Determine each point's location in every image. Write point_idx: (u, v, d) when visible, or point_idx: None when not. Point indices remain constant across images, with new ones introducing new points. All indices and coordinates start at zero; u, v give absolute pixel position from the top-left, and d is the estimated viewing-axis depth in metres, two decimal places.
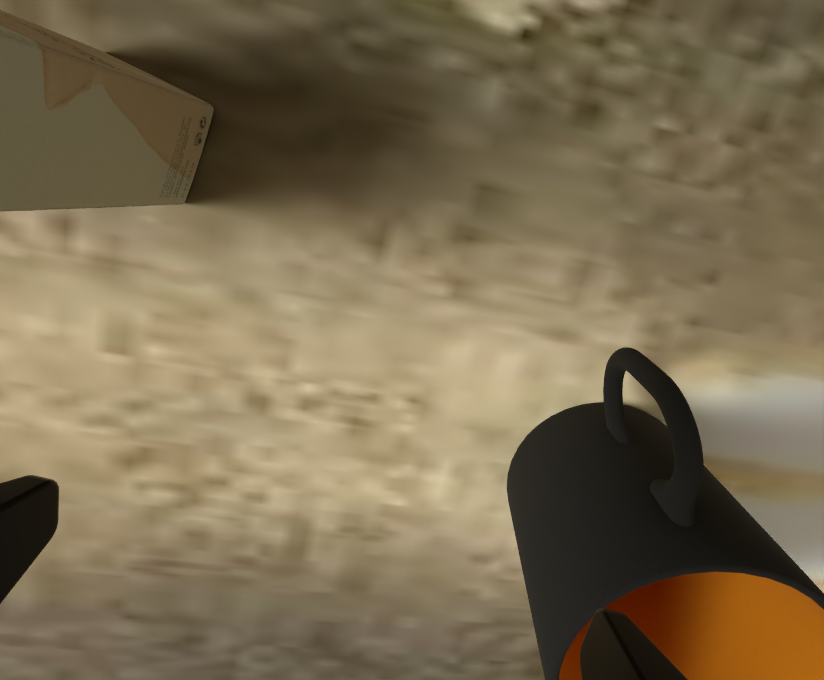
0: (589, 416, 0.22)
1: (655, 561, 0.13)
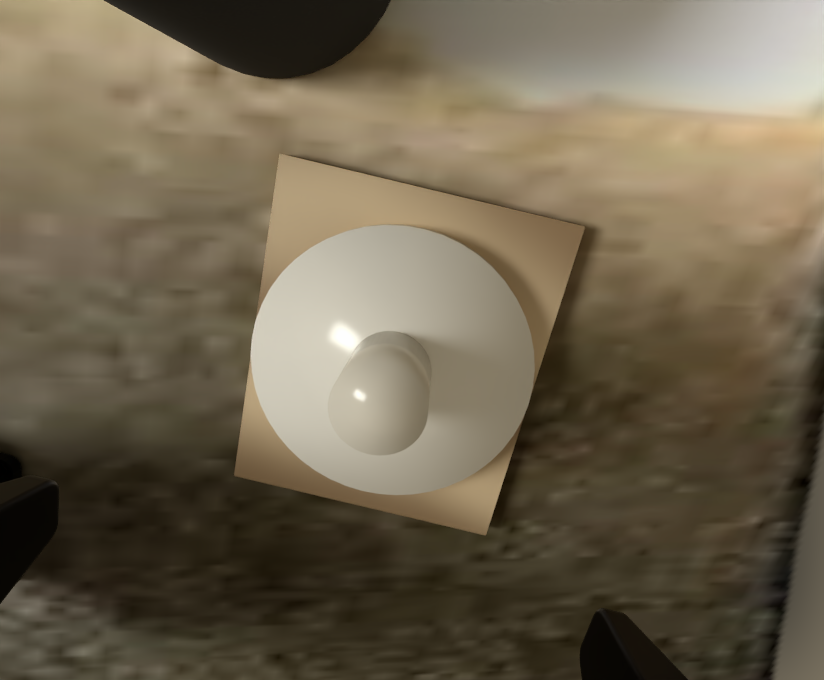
0: None
1: None
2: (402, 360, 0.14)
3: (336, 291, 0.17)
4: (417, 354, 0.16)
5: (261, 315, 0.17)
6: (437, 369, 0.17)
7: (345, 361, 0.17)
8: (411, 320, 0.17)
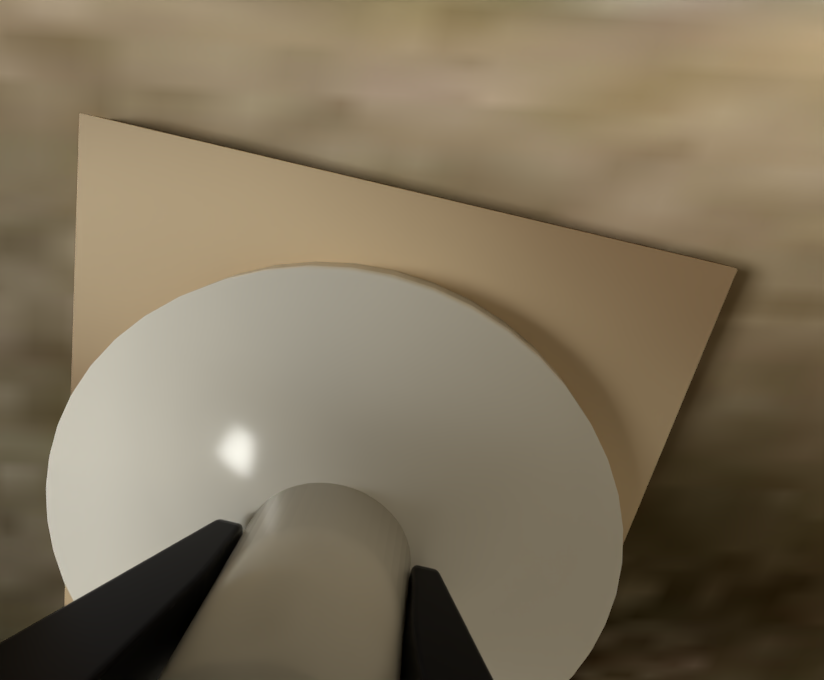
0: None
1: None
2: (329, 621, 0.06)
3: (208, 403, 0.08)
4: (376, 557, 0.07)
5: (60, 449, 0.08)
6: (422, 556, 0.08)
7: None
8: (367, 464, 0.08)
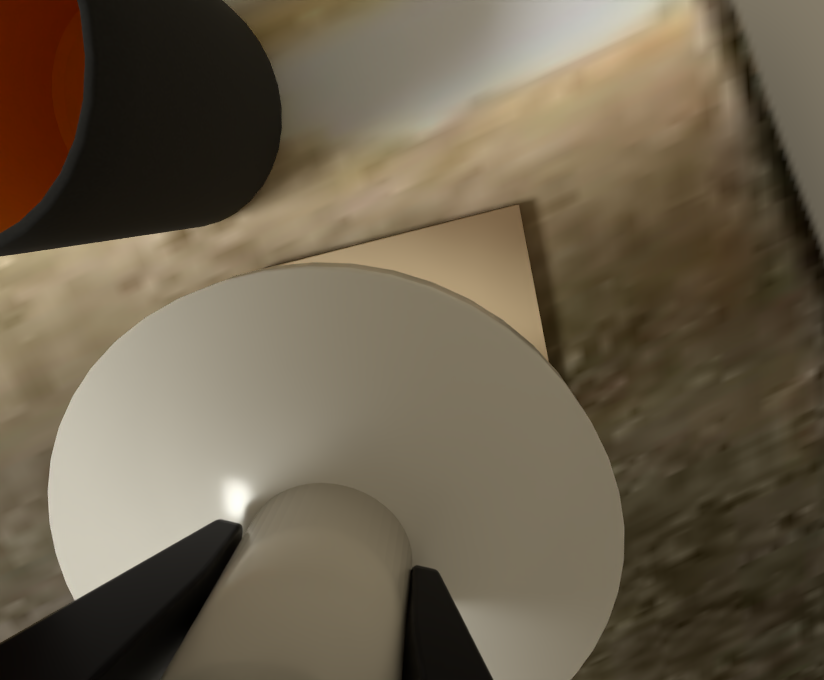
0: None
1: None
2: (331, 621, 0.06)
3: (208, 404, 0.08)
4: (378, 557, 0.07)
5: (61, 451, 0.08)
6: (423, 555, 0.08)
7: None
8: (368, 464, 0.08)
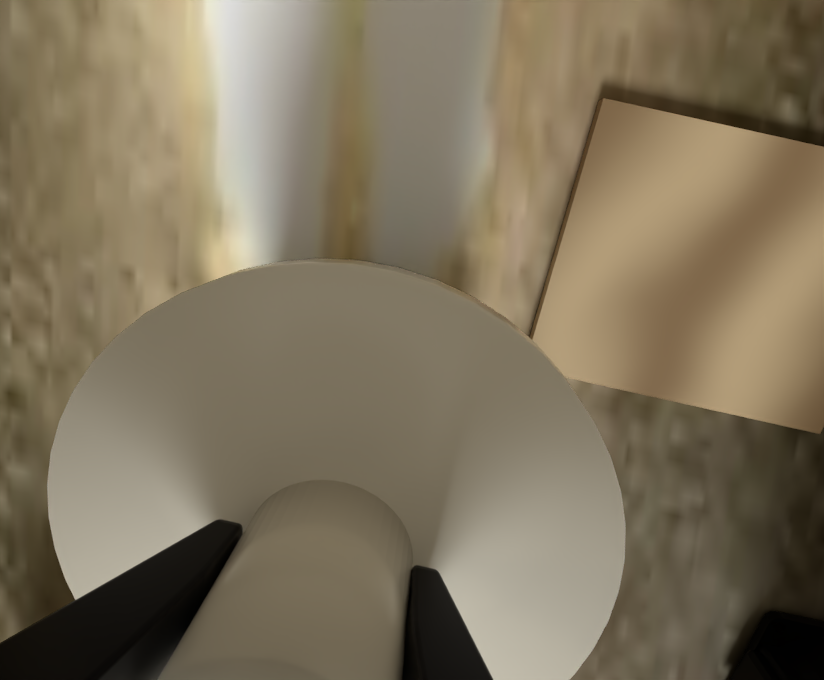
0: None
1: None
2: (332, 618, 0.06)
3: (209, 400, 0.08)
4: (378, 554, 0.07)
5: (61, 446, 0.08)
6: (424, 553, 0.08)
7: None
8: (369, 461, 0.08)
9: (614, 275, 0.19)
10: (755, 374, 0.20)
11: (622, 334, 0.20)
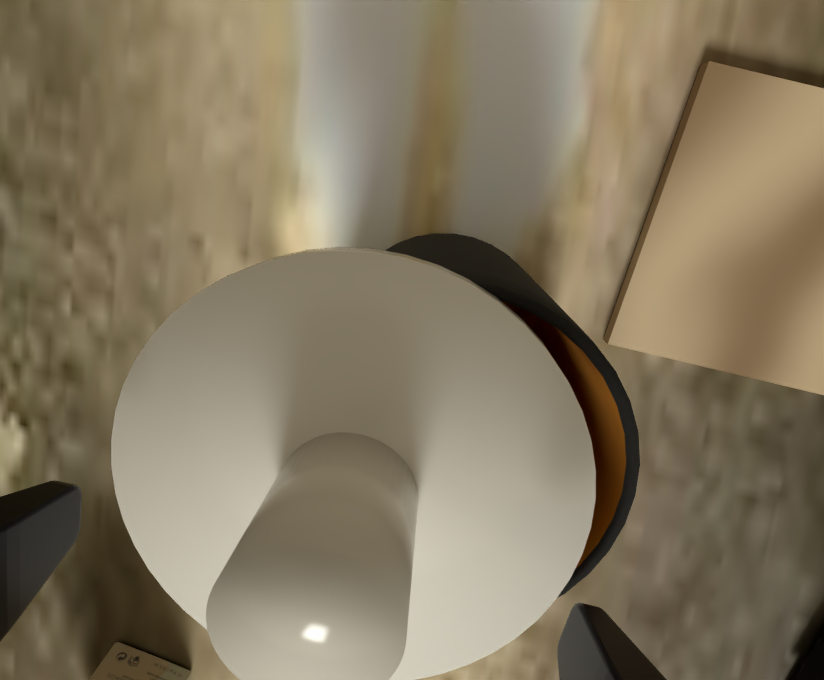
0: None
1: None
2: (357, 524, 0.07)
3: (250, 364, 0.09)
4: (391, 487, 0.09)
5: (125, 404, 0.10)
6: (428, 495, 0.10)
7: (271, 480, 0.10)
8: (382, 416, 0.10)
9: (707, 247, 0.18)
10: None
11: (712, 309, 0.19)
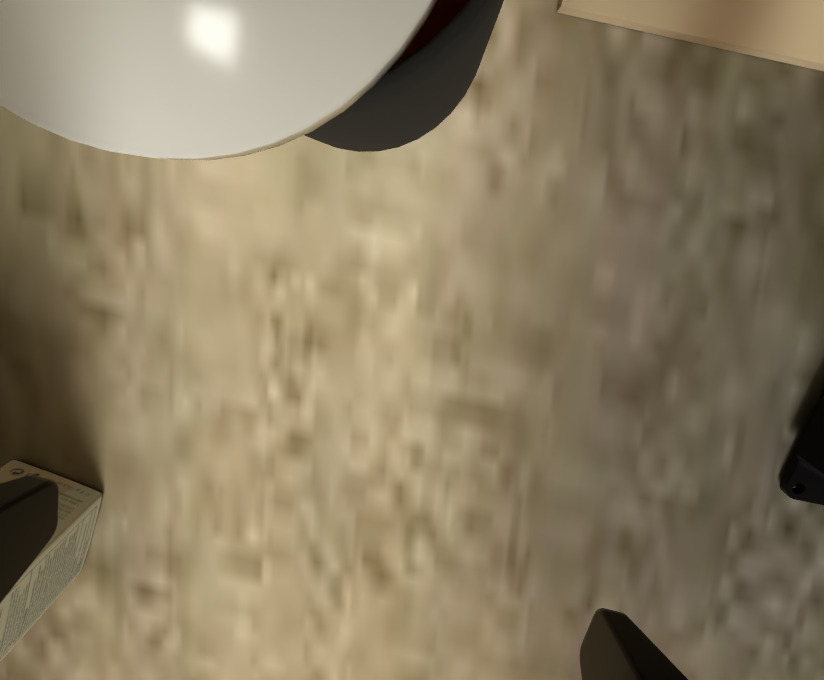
0: None
1: None
2: None
3: None
4: None
5: None
6: None
7: None
8: None
9: None
10: None
11: None
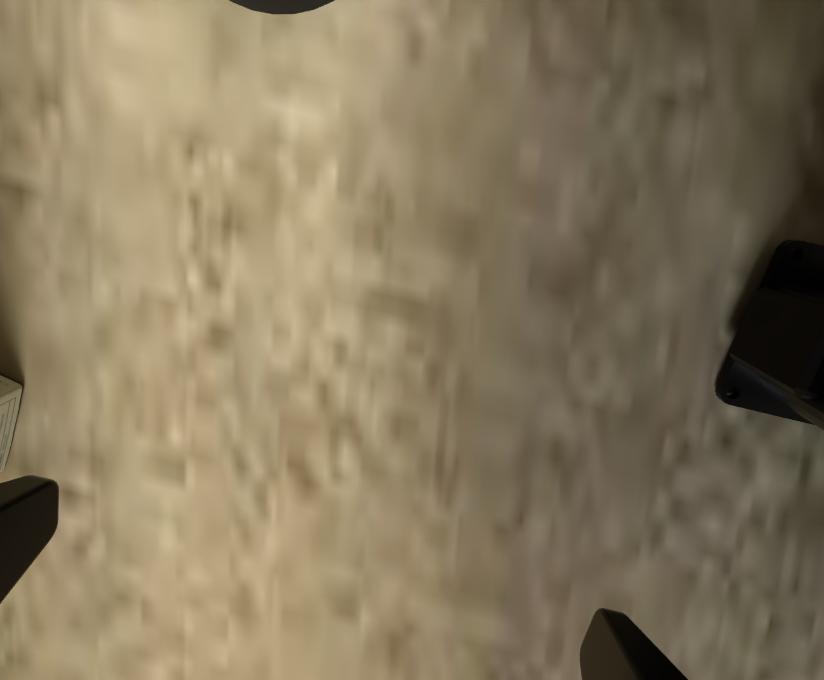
0: None
1: None
2: None
3: None
4: None
5: None
6: None
7: None
8: None
9: None
10: None
11: None
